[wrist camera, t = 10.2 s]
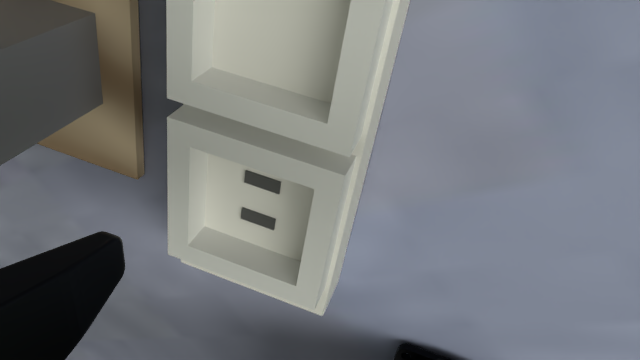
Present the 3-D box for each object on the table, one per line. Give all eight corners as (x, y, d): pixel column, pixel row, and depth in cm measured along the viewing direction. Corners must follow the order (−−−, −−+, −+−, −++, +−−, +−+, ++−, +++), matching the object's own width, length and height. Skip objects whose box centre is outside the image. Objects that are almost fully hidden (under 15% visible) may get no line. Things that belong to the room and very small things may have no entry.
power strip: (338, 281, 27) (312, 339, 24) (205, 232, 29) (164, 281, 26) (447, -146, 17) (426, -143, 13) (226, -192, 18) (158, -199, 15)
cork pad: (144, 173, 28) (137, 179, 28) (17, 128, 29) (9, 133, 29) (135, -72, 21) (126, -70, 21) (-30, -115, 23) (-42, -115, 22)
